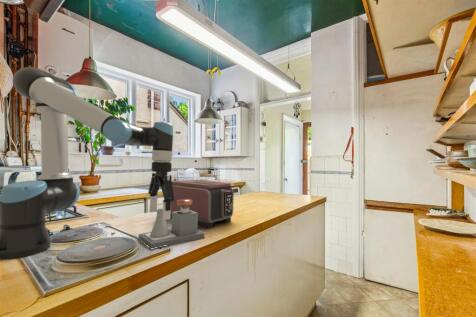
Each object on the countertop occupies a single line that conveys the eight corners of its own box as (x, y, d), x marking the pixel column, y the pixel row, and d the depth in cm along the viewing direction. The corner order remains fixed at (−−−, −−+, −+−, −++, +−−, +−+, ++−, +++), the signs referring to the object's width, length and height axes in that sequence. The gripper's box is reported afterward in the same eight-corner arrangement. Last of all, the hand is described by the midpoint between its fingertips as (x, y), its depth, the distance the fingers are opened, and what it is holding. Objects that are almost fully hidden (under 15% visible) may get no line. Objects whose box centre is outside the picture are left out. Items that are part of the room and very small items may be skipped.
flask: (172, 233, 96) (173, 208, 97) (163, 238, 89) (164, 211, 90) (156, 231, 98) (157, 207, 98) (146, 236, 91) (147, 210, 91)
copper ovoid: (181, 222, 96) (181, 201, 96) (174, 219, 101) (174, 199, 101) (195, 220, 100) (195, 200, 100) (187, 217, 105) (188, 198, 105)
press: (151, 249, 84) (151, 221, 85) (138, 239, 95) (139, 214, 95) (204, 237, 98) (204, 213, 99) (188, 230, 109) (188, 208, 109)
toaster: (215, 231, 108) (216, 186, 108) (166, 219, 129) (167, 181, 130) (240, 223, 124) (241, 183, 124) (192, 213, 145) (193, 179, 145)
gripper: (185, 162, 87) (182, 221, 87) (159, 161, 106) (156, 208, 106) (165, 162, 82) (162, 223, 82) (141, 160, 101) (139, 210, 101)
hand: (159, 215), depth 94 cm, fingers open, 13 cm apart
